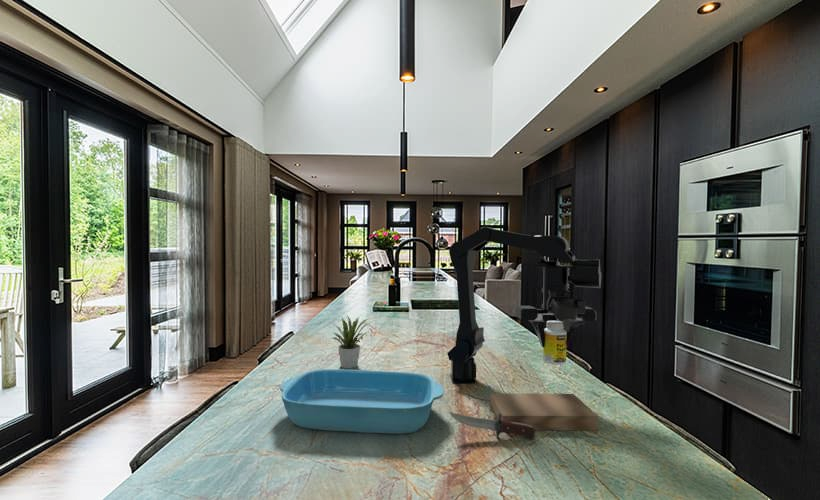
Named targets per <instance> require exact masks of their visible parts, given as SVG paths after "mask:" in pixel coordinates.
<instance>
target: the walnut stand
mask: <svg viewBox="0 0 820 500" xmlns="http://www.w3.org/2000/svg"><path fill="white" fill-rule="evenodd" d="M489 407H490V409H491V411H492V412H493V414H494V416H495V418H496V419H497V417H498V414H501V415H502V416H501V420H504V421H511V422H518V423H524V424H529V425H532V426H533V427H534V429H535V431H599V414H597V413H596V412H594V410H592V408H590V407H589V406H588V405H586V403H584V402H583V401H582V400H581V399H580V398H579V397H578V396H576V395H575V394H574V393H510V392H509V393H508V392H507V393H504V392H503V393H501V392H500V393H492V392H491V393H489Z"/></svg>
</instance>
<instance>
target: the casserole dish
mask: <svg viewBox="0 0 820 500" xmlns="http://www.w3.org/2000/svg"><path fill="white" fill-rule="evenodd" d="M279 391H281V392H282V393H281V399H282V404H283V406H284V410H285V411H286V414H287V416H288V418H289V419H290V421H291V422H292V423H293V424H295V425H297V427H300V428H303V429H304V428H305V429H308V430H309V429H310V430H318V431H319V430H321V431H331V432H332V431H335V432H349V433H351V432H354V433H355V432H356V433H364V434H365V433H367V434H390V435H392V434H394V435H395V434H399V435H402V434H410V433H414V432H417V431H418V430H420V429H422V428H423V427H424V425H426V423H427V421H428V420H429V416H430V414H431V412H432V411H431V410H432V407H433V403H434V402H435V400H438V399H441V398H442V397H443V396H444V394H445V389H444V387H443V385H442V384H441V383H439V382H437V381H435V379H434V378H432V377H431V376H429V375H426V374H422V373H415V372H404V371H403V372H402V371H385V370H384V371H383V370H363V369H344V368H342V369H339V368H337V369H336V368H334V369H333V368H326V369H315V370H314V369H313V370H310V371H307V372H304V373H302V374H299V375H296V376H294V377H291V378H288V379H286V380H285V381H283V382H282V383H281V384H280V386H279Z"/></svg>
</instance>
